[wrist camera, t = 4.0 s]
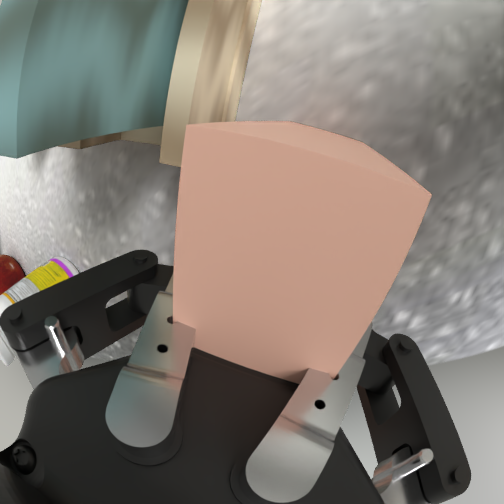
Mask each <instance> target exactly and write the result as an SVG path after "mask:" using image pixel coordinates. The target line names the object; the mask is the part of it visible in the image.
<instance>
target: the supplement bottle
mask: <svg viewBox="0 0 504 504" xmlns="http://www.w3.org/2000/svg"><path fill="white" fill-rule="evenodd" d="M77 274H79V272H78V270H77V269H76V268H75V266H74V265H73V264H72V263H71V262H70V261H68V260H67V259H65V258H63V257H60V256H57V257H54V258H52V259H50V260H49V261H47V262H46V263H44V264H43V265H41V266H40V267H38V268H37V269H36V270H34V271H33V272H31V273H30V274H28V275H27V276H26V277H24V278H23V279H22V280H20V281H19V282H18V283H16V284H15V285H13V286H12V287H11V288H10V289H8V290H7V291H6V292H4V293H3V294H2V295H0V316H1V314H2V312H3V311H4V310H5V309H6V308H7V307H8V306H10V305H12V304H14V303H16V302H18V301H20V300H22V299H24V298H26V297H29V296H31V295H33V294H35V293H37V292H39V291H41V290H44V289H46V288H48V287H50V286H52V285H54V284H57V283H59V282H61V281H63V280H66V279H68V278H70V277H72V276H75V275H77ZM14 358H15V354H14V352H13V350H12V349H11V347H10V345H9V343H8V340H7V338H6V336H5V334H4V332H3V331H2V329H1V327H0V359H1V361H2V362H3V363H4V364H5V365H6V366H8V365H10V364H11V363H12V361H13V360H14Z"/></svg>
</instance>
